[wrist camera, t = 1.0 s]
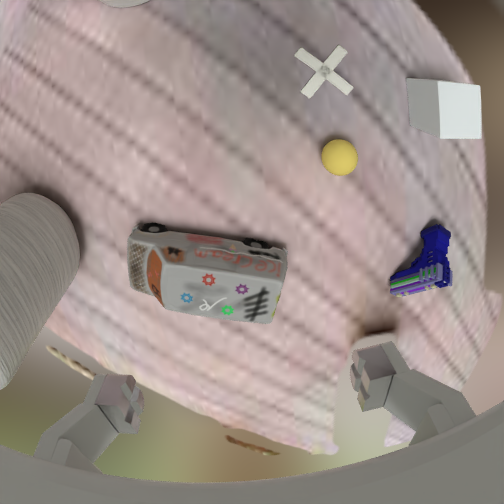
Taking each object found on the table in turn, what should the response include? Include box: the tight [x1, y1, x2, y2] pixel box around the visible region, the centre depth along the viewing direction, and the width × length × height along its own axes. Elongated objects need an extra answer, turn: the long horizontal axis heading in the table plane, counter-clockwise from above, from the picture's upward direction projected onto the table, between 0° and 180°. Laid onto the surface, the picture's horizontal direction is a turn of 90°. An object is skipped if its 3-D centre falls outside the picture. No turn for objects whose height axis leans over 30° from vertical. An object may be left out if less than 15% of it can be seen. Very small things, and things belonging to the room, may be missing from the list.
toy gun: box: [390, 224, 452, 297], centre depth 47 cm, size 4×13×10 cm
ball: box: [321, 139, 358, 176], centre depth 38 cm, size 5×5×5 cm
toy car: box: [127, 223, 288, 324], centre depth 46 cm, size 11×25×10 cm, turn 80°
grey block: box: [406, 78, 481, 139], centre depth 31 cm, size 7×7×9 cm
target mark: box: [294, 45, 354, 99], centre depth 34 cm, size 9×9×1 cm
